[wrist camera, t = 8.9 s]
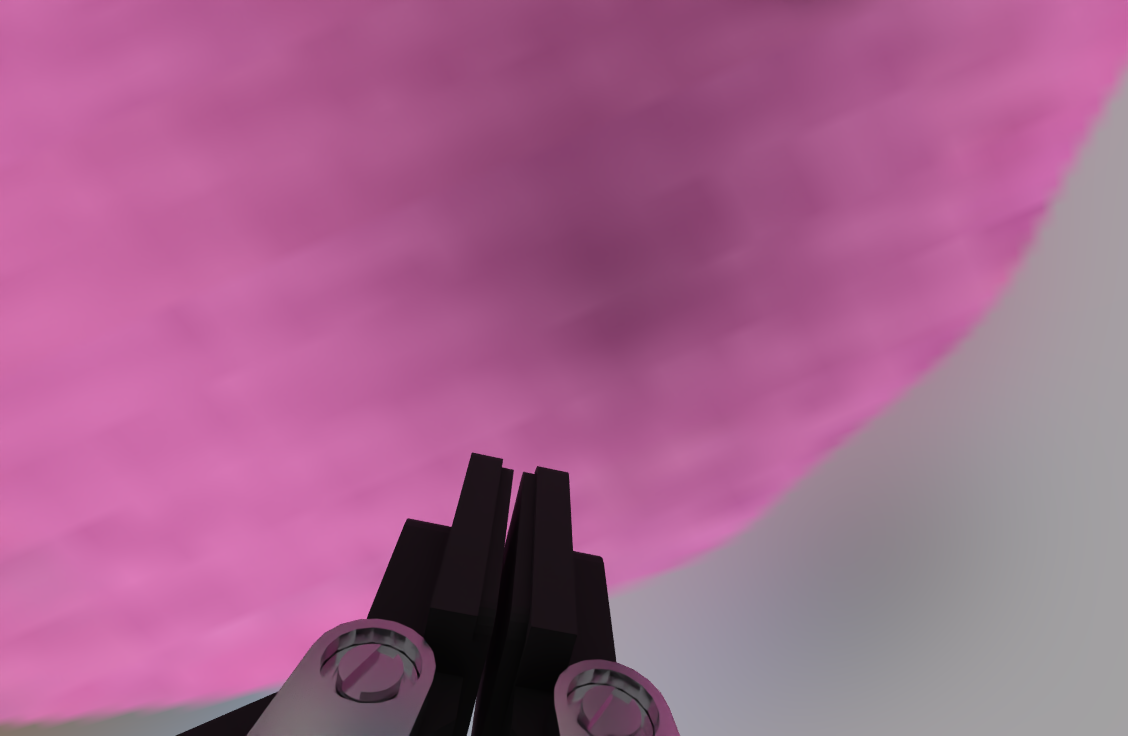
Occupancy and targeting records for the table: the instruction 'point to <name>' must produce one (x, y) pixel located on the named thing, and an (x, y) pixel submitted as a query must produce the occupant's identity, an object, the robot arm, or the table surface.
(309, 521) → the table surface
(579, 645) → the robot arm
